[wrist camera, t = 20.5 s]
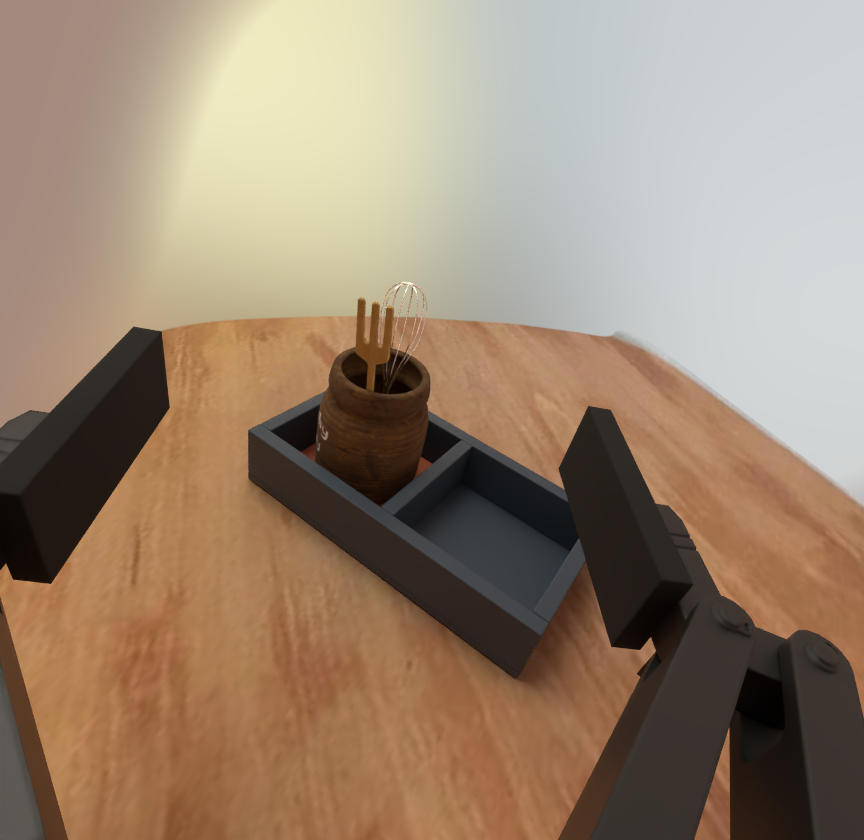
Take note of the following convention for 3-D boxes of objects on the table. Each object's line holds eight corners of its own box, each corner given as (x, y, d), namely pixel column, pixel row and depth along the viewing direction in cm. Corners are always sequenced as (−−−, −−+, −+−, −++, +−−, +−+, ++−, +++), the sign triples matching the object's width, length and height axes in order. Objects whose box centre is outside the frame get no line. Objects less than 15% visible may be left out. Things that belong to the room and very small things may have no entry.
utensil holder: (425, 455, 33) (472, 273, 26) (396, 525, 28) (445, 323, 21) (337, 427, 34) (360, 241, 27) (293, 491, 28) (307, 282, 21)
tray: (516, 679, 23) (541, 636, 21) (247, 478, 29) (247, 429, 27) (586, 558, 30) (611, 516, 28) (355, 414, 36) (361, 371, 34)
